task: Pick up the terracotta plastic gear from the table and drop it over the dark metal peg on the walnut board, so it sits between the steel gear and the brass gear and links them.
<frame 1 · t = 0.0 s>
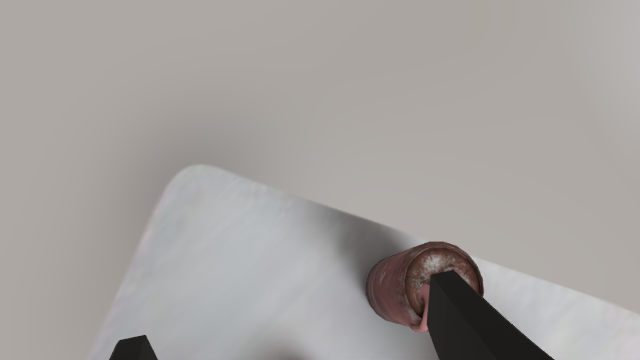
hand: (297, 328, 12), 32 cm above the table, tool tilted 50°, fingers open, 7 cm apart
can: (395, 290, 44), on the table
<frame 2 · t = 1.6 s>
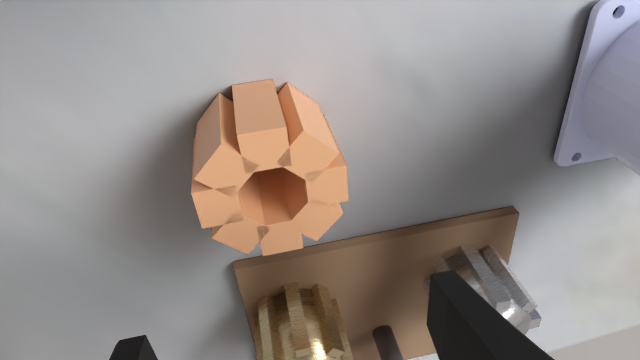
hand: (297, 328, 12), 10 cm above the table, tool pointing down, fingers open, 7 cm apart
idler gear: (263, 141, 20), on the table
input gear: (457, 266, 27), resting on gear board
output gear: (293, 302, 26), resting on gear board
gear board: (378, 302, 27), on the table
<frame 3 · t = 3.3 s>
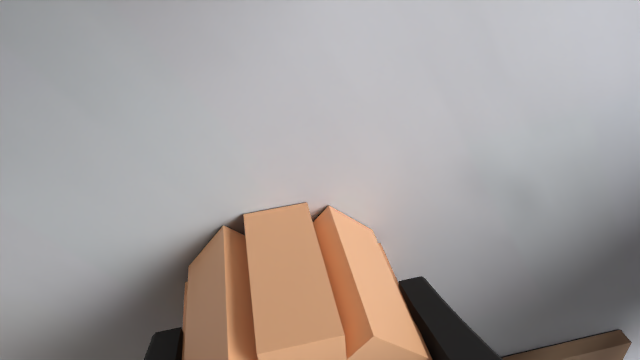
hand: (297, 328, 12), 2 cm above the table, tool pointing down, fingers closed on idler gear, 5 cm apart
idler gear: (288, 282, 13), on the table, touching gripper
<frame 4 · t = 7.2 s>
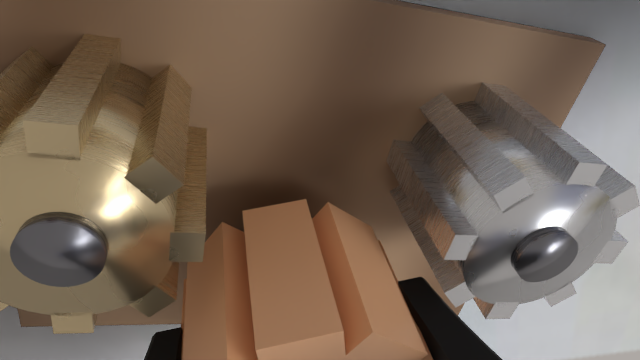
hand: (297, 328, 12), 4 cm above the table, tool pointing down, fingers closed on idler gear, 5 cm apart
idler gear: (287, 279, 13), point 2 cm above the table, touching gripper
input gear: (452, 146, 14), resting on gear board
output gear: (111, 120, 11), resting on gear board
gear board: (292, 182, 14), on the table
when the fingers open (4 cm above the table, at t = 8.2 s): idler gear drops 1 cm, resting on gear board.
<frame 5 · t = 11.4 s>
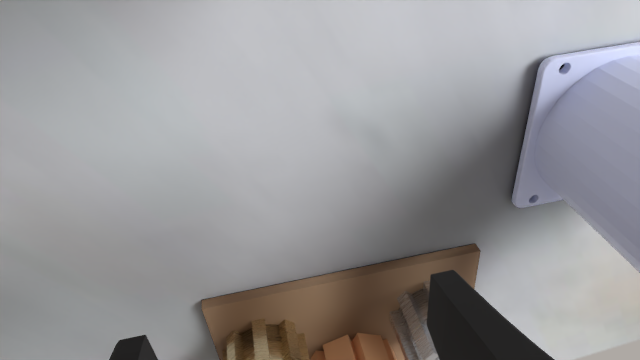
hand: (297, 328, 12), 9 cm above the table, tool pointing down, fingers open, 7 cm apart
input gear: (423, 299, 27), resting on gear board
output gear: (263, 336, 26), resting on gear board
gear board: (347, 334, 28), on the table
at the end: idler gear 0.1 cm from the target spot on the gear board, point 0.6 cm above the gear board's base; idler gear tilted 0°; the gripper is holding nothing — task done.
